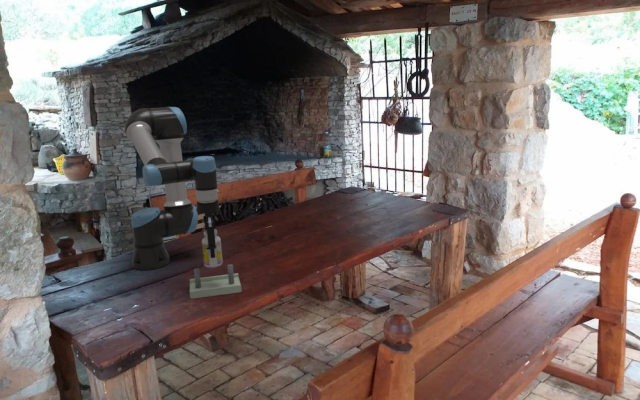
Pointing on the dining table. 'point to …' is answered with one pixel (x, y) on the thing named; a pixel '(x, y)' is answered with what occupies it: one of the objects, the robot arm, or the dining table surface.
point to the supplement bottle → (206, 253)
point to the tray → (214, 284)
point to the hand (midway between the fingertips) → (213, 262)
